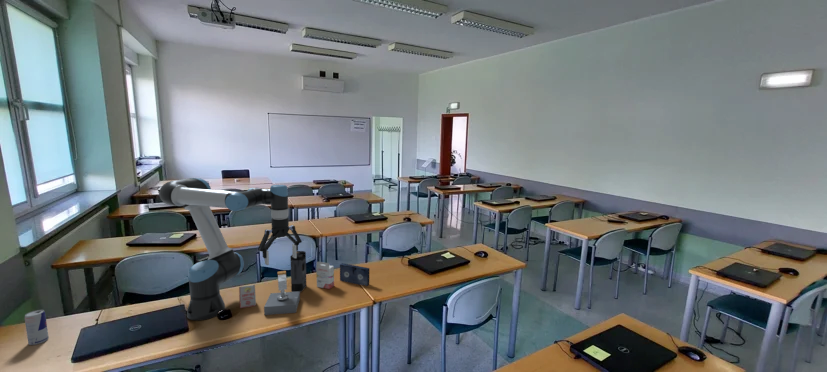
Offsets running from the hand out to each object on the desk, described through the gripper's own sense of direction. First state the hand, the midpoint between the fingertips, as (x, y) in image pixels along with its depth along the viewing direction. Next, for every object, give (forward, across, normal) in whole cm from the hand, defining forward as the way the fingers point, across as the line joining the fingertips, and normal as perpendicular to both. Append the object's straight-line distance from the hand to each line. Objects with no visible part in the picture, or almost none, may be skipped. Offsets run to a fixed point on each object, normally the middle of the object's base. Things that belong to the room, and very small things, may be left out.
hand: (281, 260), depth 159 cm
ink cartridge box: (+24, -27, -5) cm, 36 cm away
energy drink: (+24, +81, -39) cm, 93 cm away
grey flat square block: (+23, 0, 0) cm, 23 cm away
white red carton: (+24, +11, -13) cm, 29 cm away
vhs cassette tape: (+24, -42, +2) cm, 48 cm away
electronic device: (+24, -15, -12) cm, 31 cm away
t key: (+19, 0, 0) cm, 19 cm away
